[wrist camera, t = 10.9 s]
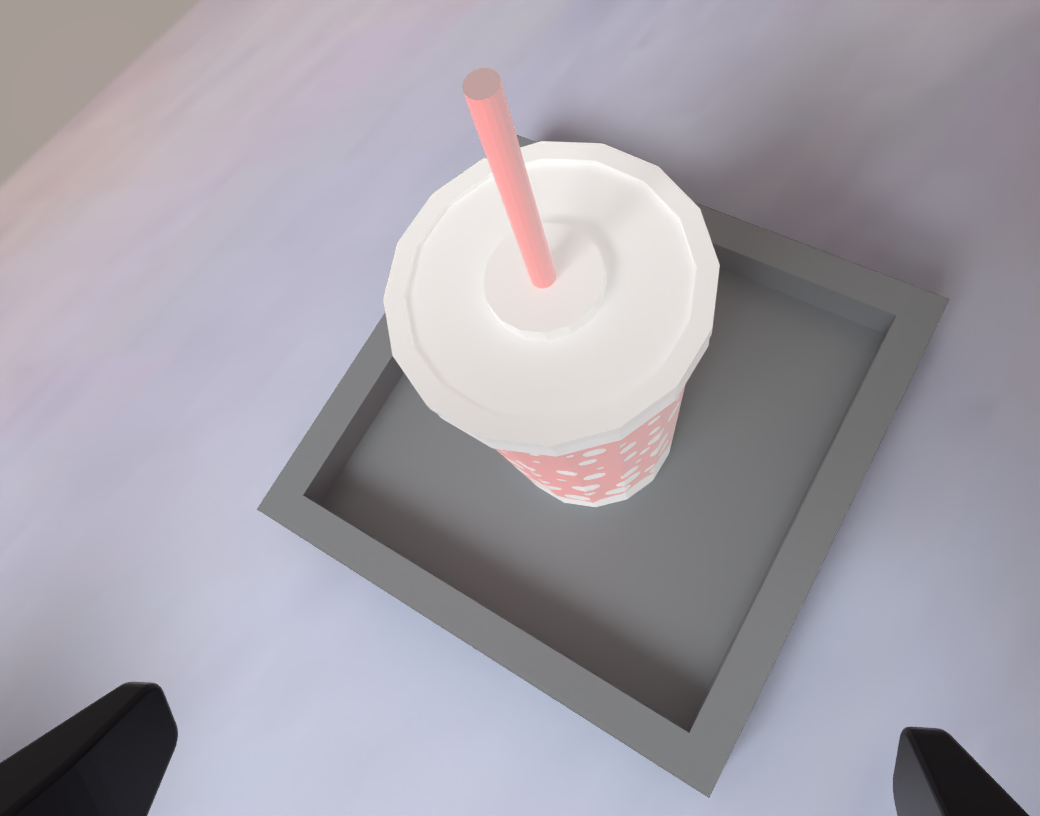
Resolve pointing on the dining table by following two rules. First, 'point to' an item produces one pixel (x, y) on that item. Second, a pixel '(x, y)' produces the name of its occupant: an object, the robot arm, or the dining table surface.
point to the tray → (634, 504)
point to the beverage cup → (555, 305)
